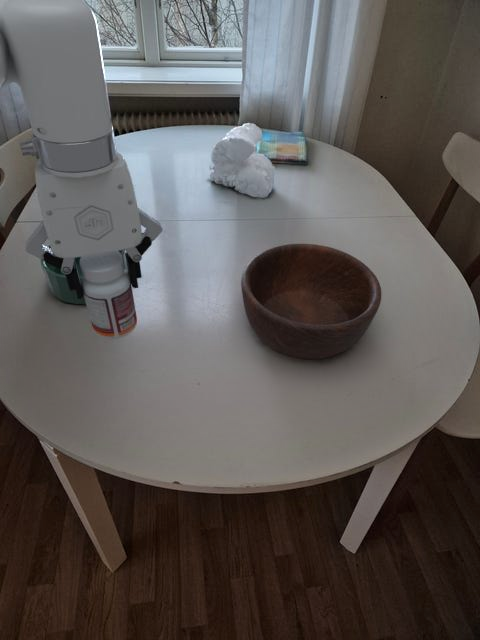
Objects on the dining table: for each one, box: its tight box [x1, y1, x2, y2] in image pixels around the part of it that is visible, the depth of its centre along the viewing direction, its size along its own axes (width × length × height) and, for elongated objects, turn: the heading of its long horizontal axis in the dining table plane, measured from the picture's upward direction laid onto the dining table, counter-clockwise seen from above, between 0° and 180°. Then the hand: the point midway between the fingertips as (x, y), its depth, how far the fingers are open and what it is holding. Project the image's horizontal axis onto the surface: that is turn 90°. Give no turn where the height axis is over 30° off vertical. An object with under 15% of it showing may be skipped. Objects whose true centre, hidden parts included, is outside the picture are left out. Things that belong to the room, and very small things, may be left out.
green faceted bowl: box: [40, 244, 128, 305], centre depth 89 cm, size 16×16×7 cm
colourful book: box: [256, 129, 309, 166], centre depth 145 cm, size 17×23×2 cm
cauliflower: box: [209, 122, 276, 199], centre depth 122 cm, size 19×20×20 cm
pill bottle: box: [79, 251, 138, 340], centre depth 57 cm, size 6×6×11 cm
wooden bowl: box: [240, 243, 382, 360], centre depth 80 cm, size 25×25×10 cm
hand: (107, 286), depth 56 cm, fingers closed on pill bottle, 6 cm apart
